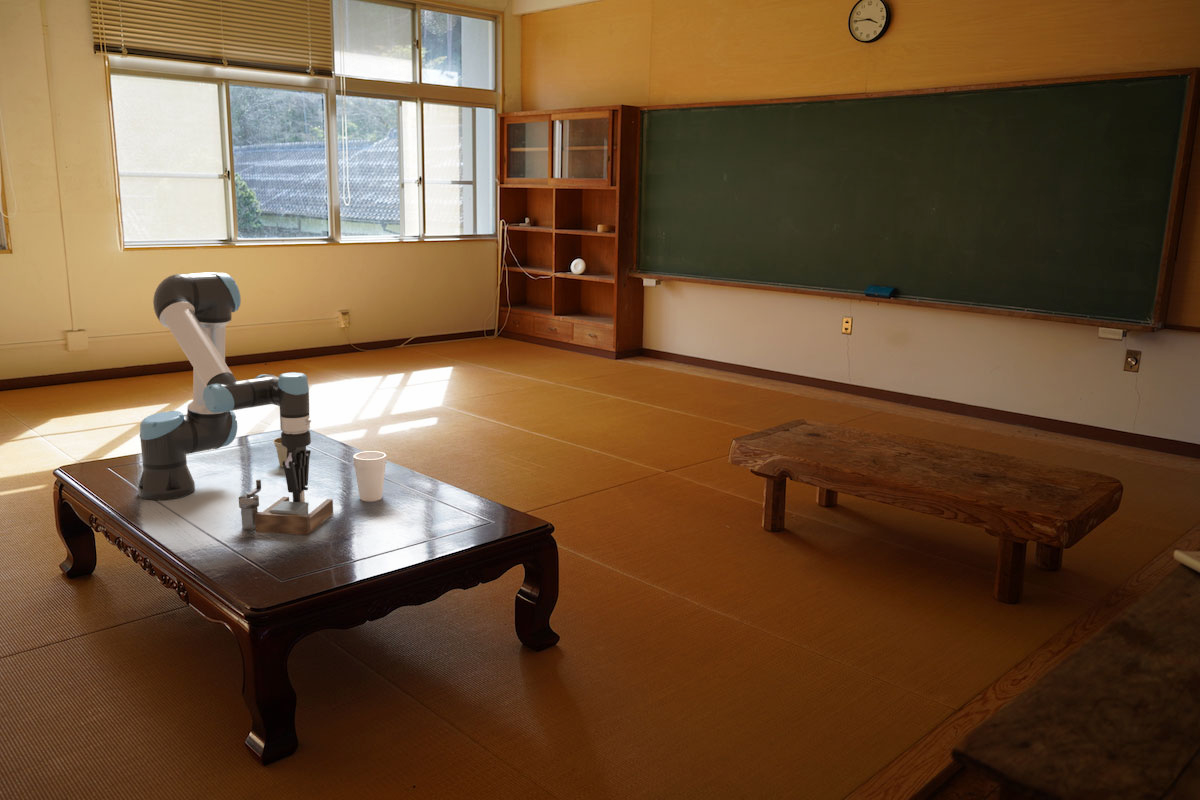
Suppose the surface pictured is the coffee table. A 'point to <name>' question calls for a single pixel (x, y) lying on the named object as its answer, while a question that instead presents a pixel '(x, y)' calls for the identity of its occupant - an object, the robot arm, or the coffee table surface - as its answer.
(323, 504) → the bay
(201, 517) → the coffee table surface
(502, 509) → the coffee table surface
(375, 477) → the foam cup
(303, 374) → the robot arm
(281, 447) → the flower pot
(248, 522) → the winch
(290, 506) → the gray block
